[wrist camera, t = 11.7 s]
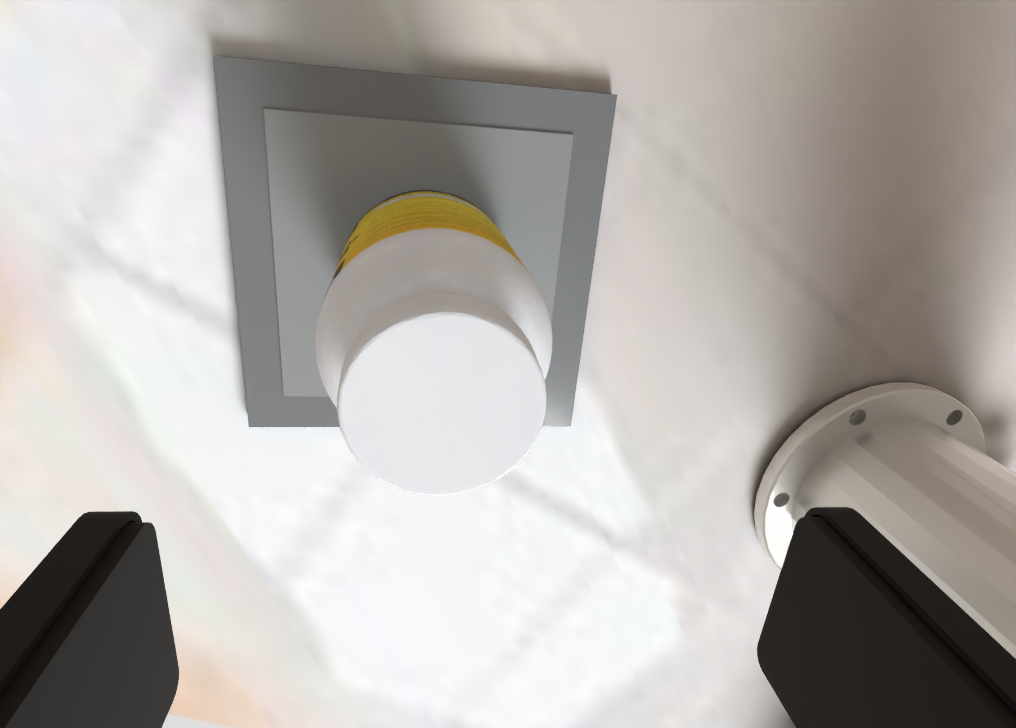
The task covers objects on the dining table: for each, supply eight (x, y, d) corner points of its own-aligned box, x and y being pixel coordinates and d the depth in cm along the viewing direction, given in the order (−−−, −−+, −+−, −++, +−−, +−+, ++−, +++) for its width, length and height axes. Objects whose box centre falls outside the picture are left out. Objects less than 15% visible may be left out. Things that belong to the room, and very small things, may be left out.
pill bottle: (360, 165, 22) (318, 227, 11) (528, 211, 23) (627, 303, 13) (329, 329, 24) (270, 508, 14) (484, 361, 26) (538, 543, 15)
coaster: (612, 95, 23) (617, 94, 22) (567, 419, 28) (571, 427, 28) (218, 56, 20) (212, 55, 20) (252, 420, 26) (248, 428, 25)
